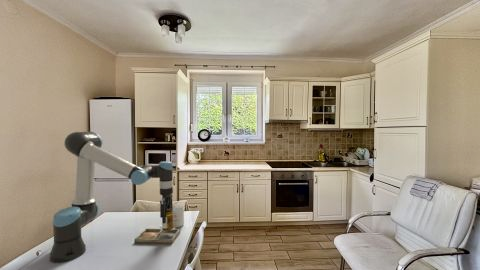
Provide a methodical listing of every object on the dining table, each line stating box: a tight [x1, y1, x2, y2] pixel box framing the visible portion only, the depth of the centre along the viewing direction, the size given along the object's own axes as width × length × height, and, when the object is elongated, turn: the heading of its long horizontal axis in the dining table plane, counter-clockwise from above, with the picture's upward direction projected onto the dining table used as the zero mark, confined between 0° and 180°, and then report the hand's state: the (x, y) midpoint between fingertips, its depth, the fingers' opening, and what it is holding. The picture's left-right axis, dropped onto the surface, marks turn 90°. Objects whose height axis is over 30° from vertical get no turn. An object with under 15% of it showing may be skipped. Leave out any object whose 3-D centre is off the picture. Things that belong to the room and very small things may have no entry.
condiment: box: [159, 208, 176, 232], centre depth 138 cm, size 7×8×12 cm
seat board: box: [134, 228, 181, 245], centre depth 138 cm, size 14×22×2 cm, turn 87°
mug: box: [172, 206, 185, 229], centre depth 156 cm, size 12×9×11 cm
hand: (166, 225), depth 137 cm, fingers closed on condiment, 6 cm apart
